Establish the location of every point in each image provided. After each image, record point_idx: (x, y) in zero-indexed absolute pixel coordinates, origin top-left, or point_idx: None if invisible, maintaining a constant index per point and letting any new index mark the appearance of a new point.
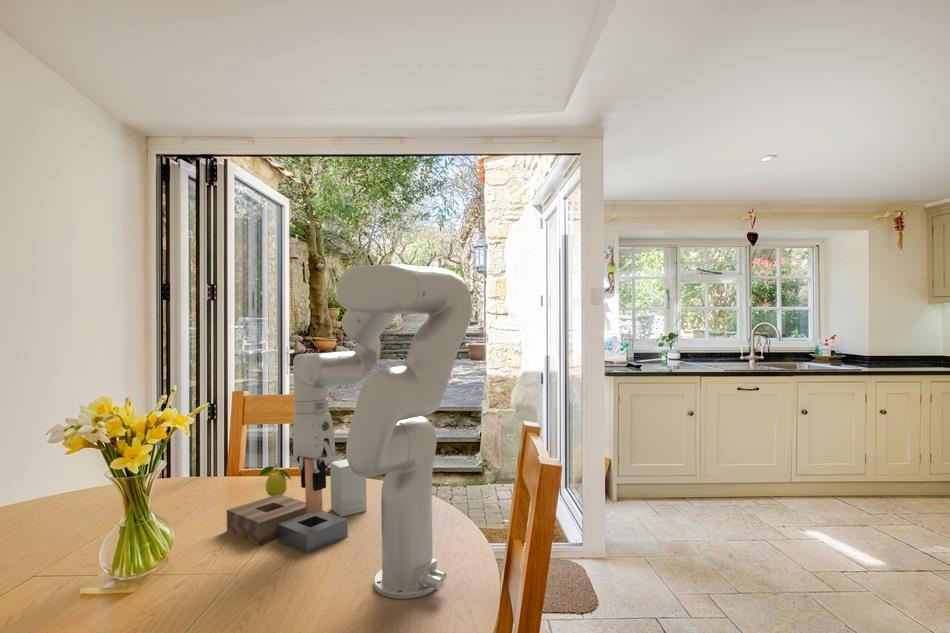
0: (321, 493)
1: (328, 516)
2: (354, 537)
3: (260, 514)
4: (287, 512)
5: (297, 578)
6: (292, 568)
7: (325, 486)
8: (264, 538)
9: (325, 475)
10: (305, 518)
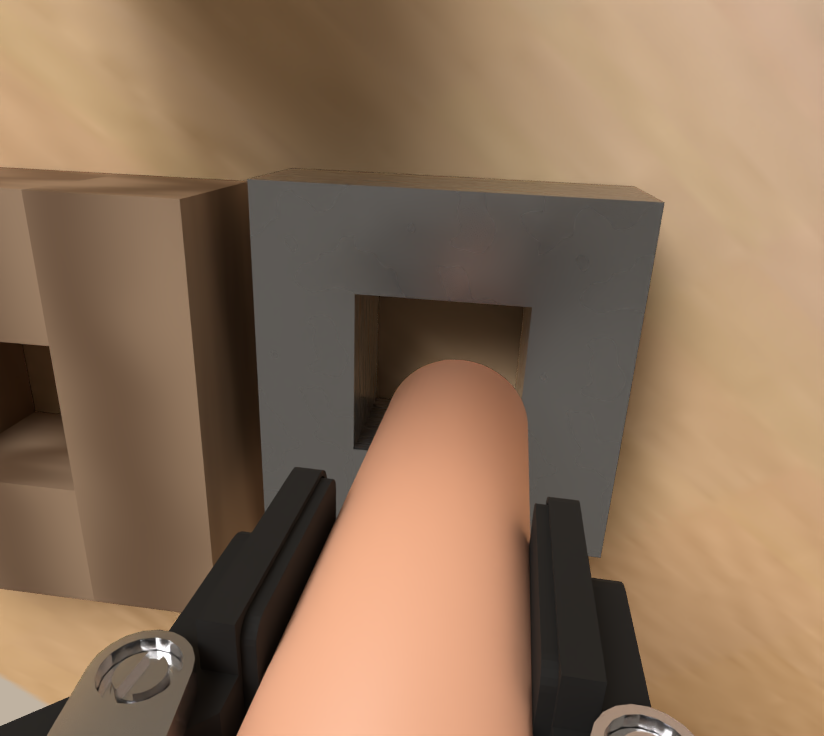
0: (520, 479)
1: (462, 246)
2: (691, 165)
3: (83, 530)
4: (188, 422)
5: (753, 671)
6: (649, 620)
7: (576, 510)
8: (256, 521)
9: (593, 613)
10: (338, 367)
